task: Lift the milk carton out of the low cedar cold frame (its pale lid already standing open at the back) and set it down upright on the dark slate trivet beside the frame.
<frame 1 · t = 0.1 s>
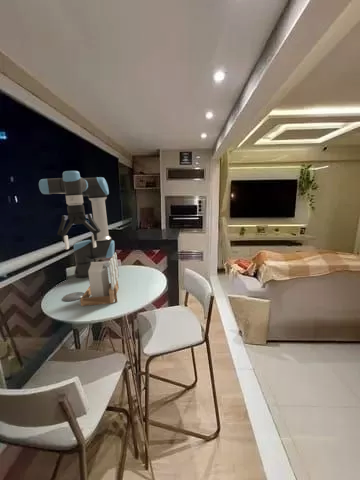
hand: (81, 248, 126), 28 cm above the table, fingers open, 13 cm apart
trivet: (74, 297, 138), on the table
cold frame: (101, 296, 137), on the table
milk carton: (101, 296, 137), resting in cold frame
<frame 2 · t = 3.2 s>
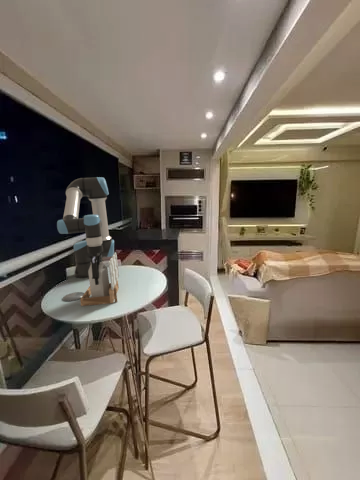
hand: (100, 286, 136), 5 cm above the table, fingers closed on milk carton, 8 cm apart
milk carton: (101, 296, 137), resting in cold frame, touching gripper
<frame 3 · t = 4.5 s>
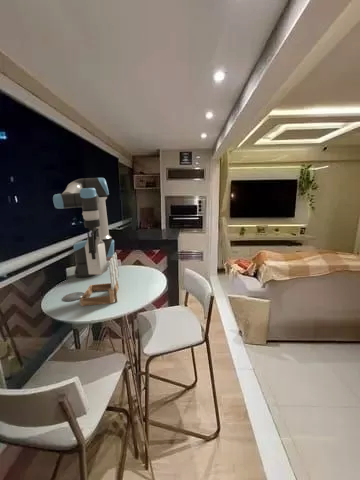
hand: (97, 262, 134), 19 cm above the table, fingers closed on milk carton, 8 cm apart
milk carton: (98, 272, 135), point 13 cm above the table, touching gripper
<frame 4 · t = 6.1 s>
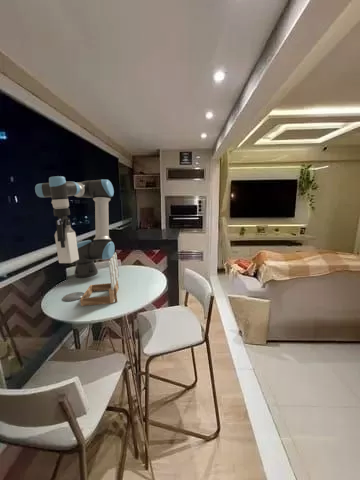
hand: (67, 251, 134), 25 cm above the table, fingers closed on milk carton, 8 cm apart
milk carton: (69, 261, 135), point 20 cm above the table, touching gripper
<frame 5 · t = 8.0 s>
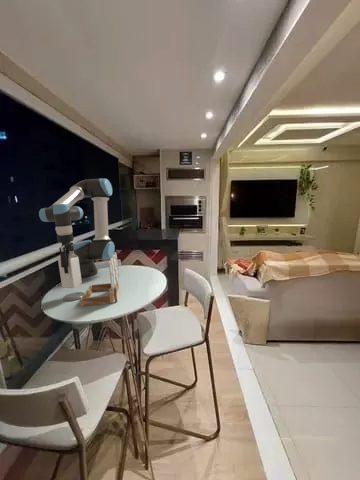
hand: (70, 276, 136), 12 cm above the table, fingers closed on milk carton, 8 cm apart
milk carton: (72, 286, 137), point 6 cm above the table, touching gripper
when the fingers open (7 cm above the table, at t = 9.2 s): milk carton drops 1 cm, resting on trivet.
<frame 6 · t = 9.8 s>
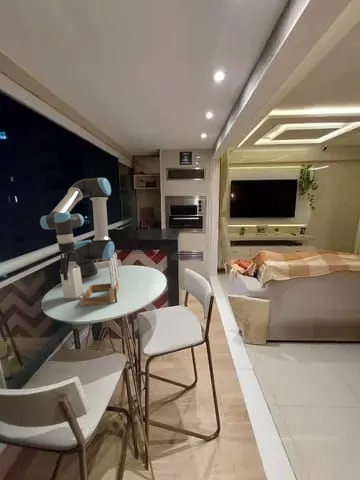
hand: (71, 281, 137), 9 cm above the table, fingers open, 13 cm apart
milk carton: (74, 296, 138), resting on trivet
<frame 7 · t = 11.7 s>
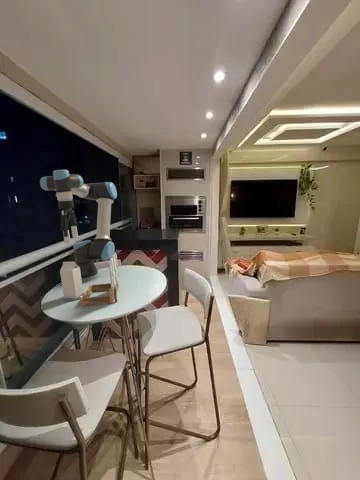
hand: (71, 240, 139), 30 cm above the table, fingers open, 13 cm apart
nothing on the table moved.
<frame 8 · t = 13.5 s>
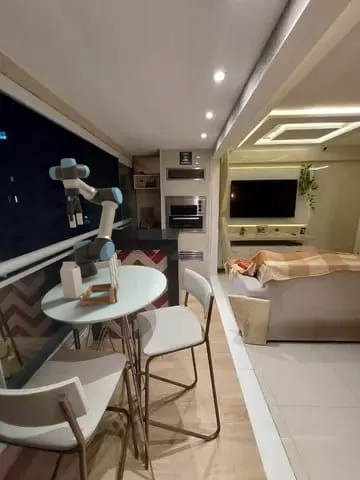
hand: (76, 225, 147), 37 cm above the table, fingers open, 13 cm apart
nothing on the table moved.
at the end: milk carton 0.1 cm from the trivet (horizontally); milk carton tilted 0°; the gripper is holding nothing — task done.
